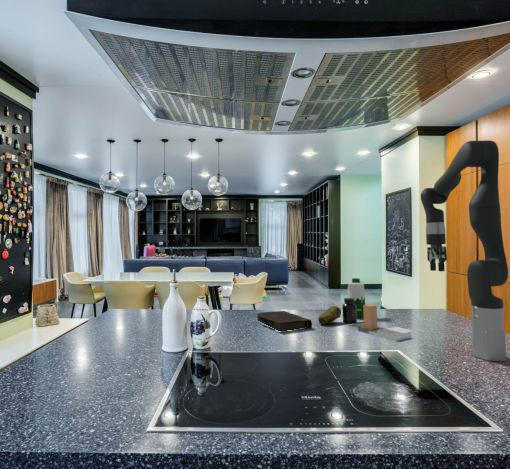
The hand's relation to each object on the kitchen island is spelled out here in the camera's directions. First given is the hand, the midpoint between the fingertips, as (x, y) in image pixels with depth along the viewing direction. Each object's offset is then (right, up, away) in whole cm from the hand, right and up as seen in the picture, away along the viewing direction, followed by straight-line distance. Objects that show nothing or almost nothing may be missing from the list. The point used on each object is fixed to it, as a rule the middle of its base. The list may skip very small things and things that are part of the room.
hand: (437, 271), depth 152 cm
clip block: (-28, -28, +3) cm, 39 cm away
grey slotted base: (-26, -27, 0) cm, 37 cm away
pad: (-15, -27, +4) cm, 31 cm away
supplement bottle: (-32, -28, +22) cm, 48 cm away
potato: (-42, -28, +22) cm, 55 cm away
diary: (-65, -29, +20) cm, 74 cm away
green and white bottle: (-24, -28, +36) cm, 52 cm away
